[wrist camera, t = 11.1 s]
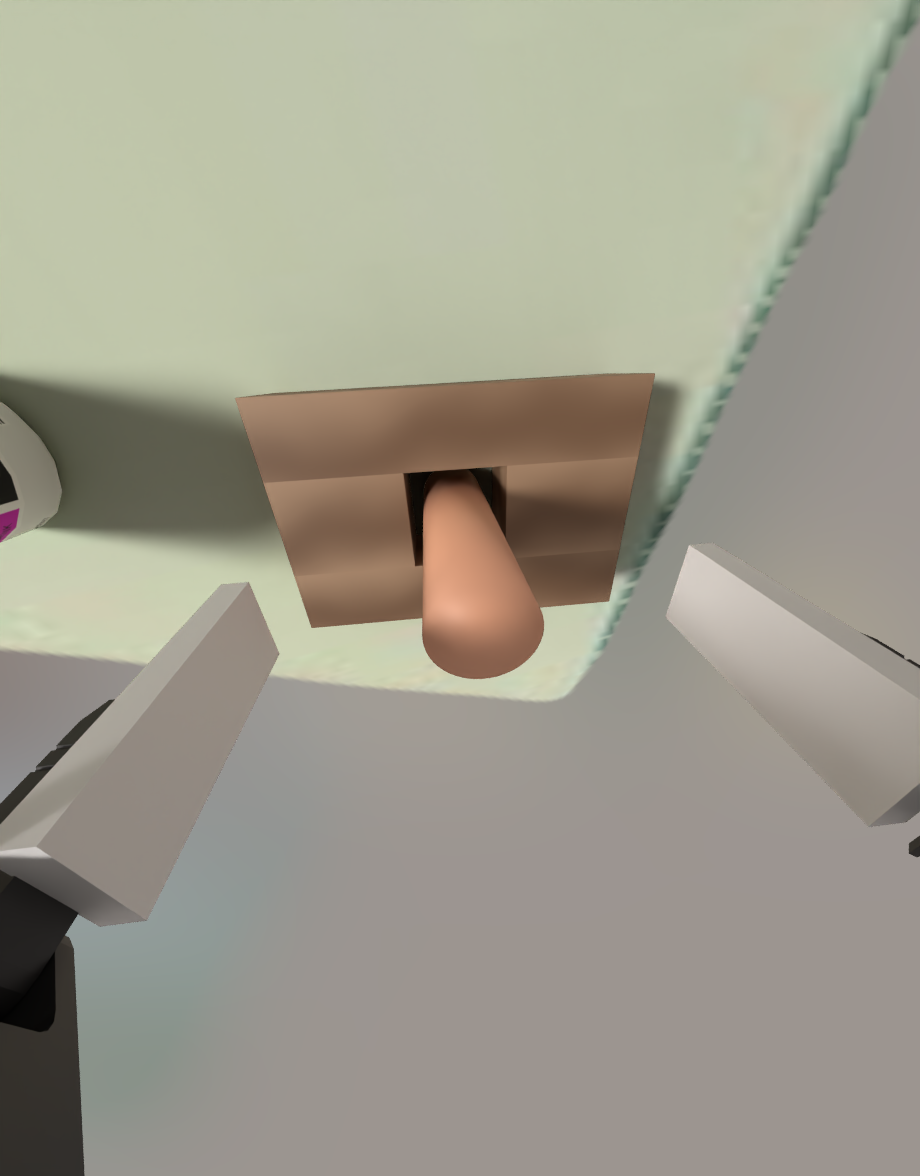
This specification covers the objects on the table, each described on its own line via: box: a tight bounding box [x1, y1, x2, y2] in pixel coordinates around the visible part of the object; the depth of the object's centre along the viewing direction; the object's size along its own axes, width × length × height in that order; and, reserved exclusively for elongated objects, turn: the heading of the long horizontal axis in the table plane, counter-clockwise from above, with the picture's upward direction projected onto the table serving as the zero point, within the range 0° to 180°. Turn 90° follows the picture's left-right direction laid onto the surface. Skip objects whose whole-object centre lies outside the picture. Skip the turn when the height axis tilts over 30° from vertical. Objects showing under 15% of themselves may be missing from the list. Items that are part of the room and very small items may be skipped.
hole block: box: [235, 373, 655, 628], centre depth 20 cm, size 12×18×4 cm, turn 93°
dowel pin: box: [422, 469, 544, 679], centre depth 16 cm, size 4×4×14 cm
